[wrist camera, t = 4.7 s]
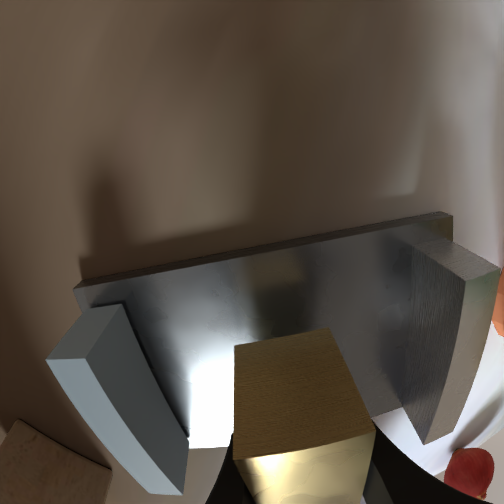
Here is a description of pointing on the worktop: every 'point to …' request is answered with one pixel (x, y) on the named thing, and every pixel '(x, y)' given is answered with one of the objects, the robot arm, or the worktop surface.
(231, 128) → the worktop surface
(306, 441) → the brass block
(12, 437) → the wooden block
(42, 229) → the worktop surface
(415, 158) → the worktop surface
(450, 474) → the pomegranate
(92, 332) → the block
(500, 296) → the potted cactus
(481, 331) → the vise
